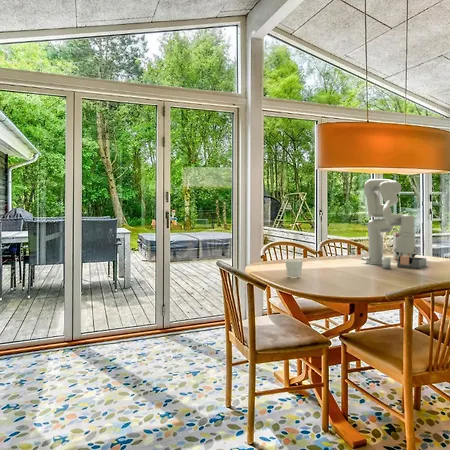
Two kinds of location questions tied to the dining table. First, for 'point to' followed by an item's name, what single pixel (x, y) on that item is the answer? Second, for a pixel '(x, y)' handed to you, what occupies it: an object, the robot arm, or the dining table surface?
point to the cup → (294, 267)
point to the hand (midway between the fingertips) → (405, 263)
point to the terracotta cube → (404, 260)
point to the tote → (414, 263)
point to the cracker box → (395, 240)
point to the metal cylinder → (386, 263)
